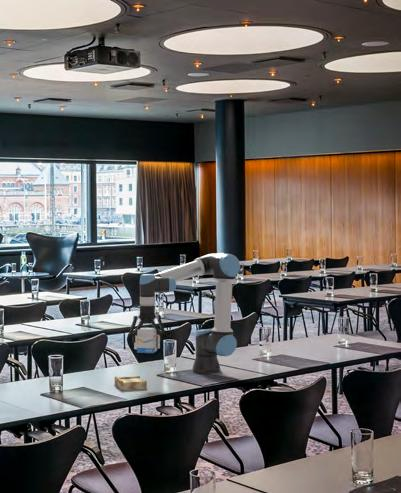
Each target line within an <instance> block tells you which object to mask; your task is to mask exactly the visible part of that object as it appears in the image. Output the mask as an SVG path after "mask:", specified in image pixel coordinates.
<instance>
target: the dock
mask: <svg viewBox="0 0 401 493" xmlns="http://www.w3.org/2000/svg"><path fill="white" fill-rule="evenodd" d="M147 382H148V381H147V380H144V379H142V378H141V376H140V375H135V376H132V375H131V376H121V377H120V376H119V377H118V375H114V387H116V388H117V389H118V390H120V391H121V392H122V391H132V390H134V391H136V390H146V389H147V388H148V383H147Z"/></svg>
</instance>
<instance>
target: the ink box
mask: <svg viewBox="0 0 401 493" xmlns="http://www.w3.org/2000/svg"><path fill="white" fill-rule="evenodd" d="M157 335H158V333H157V330H156V329H155V328H154V327H141V328H140V330H137V334H136V336H137V350H136V353H137V354H138V353H140V354H142V353H143V354H154V353H156V352H157V351H158V348H157Z"/></svg>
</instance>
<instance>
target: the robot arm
mask: <svg viewBox="0 0 401 493" xmlns="http://www.w3.org/2000/svg"><path fill="white" fill-rule="evenodd" d="M240 270H241V263H240V260H239V259H238V258H237V256H235V255H233V254H231V253H220V252H212V253H208V254H205V255H202V256H200V257H197V258H195V259H194V260H193V261H191V262H188V263H184V264H182V265H179V266H176V267H172V268H169V269H166V270H164V271H161V272H158V273H142V274H141V275H140V277H139V315H133V320H132V323H131V325H130V328H129V332H128V335H130V336H132V337H131V338H132V340H131V341H132V343H133V349H134V350H136V351H137V330H140V328H142V326H143V325H148V324H150V325H152V328H155V329H156V330H157V350H158V349H161V348H160V347H161V342H162V339H163V337H162V336H163V335H165V334H166V330H165V328H164V324H163V321H162V315H161V314H158V315H157V314H156V310H155V309H156V306H155V303H156V302H155V301H156V300H155V299H156V293H174V291H175V290H176V287H177V283H178V282H180V281H183V280H187V279H189V278H192V277H196V276H205V275H213V278H212V279H213V280H214V281H215V300H214V302H215V303H214V323H213V327H212V328H207V329H206V328H205V329H198V330H196V332H195V359H194V362H193V364H192V372H193V373H195V374H202V375H203V374H205V375H206V374H218V373H220V372H221V365H220V361H219V359H218V356H220V357H229V356H231V355H232V354H234V352H235V351H236V349H237V345H238V343H237V341H238V340H237V339H236V337H235V336H234V330H233V329H232V328H231V319H232V318H231V317H232V296H233V294H232V293H233V282H234V281H235V280H236V276H237V275H238V273H239V272H240ZM155 319H156V320H157V323H158V325H159V327H158V325H157V324H156V322H155V321H154V320H155ZM138 320H139V323H138V325H137V321H138ZM136 325H137V326H136ZM135 327H136V328H135ZM159 328H160V329H159Z"/></svg>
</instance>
